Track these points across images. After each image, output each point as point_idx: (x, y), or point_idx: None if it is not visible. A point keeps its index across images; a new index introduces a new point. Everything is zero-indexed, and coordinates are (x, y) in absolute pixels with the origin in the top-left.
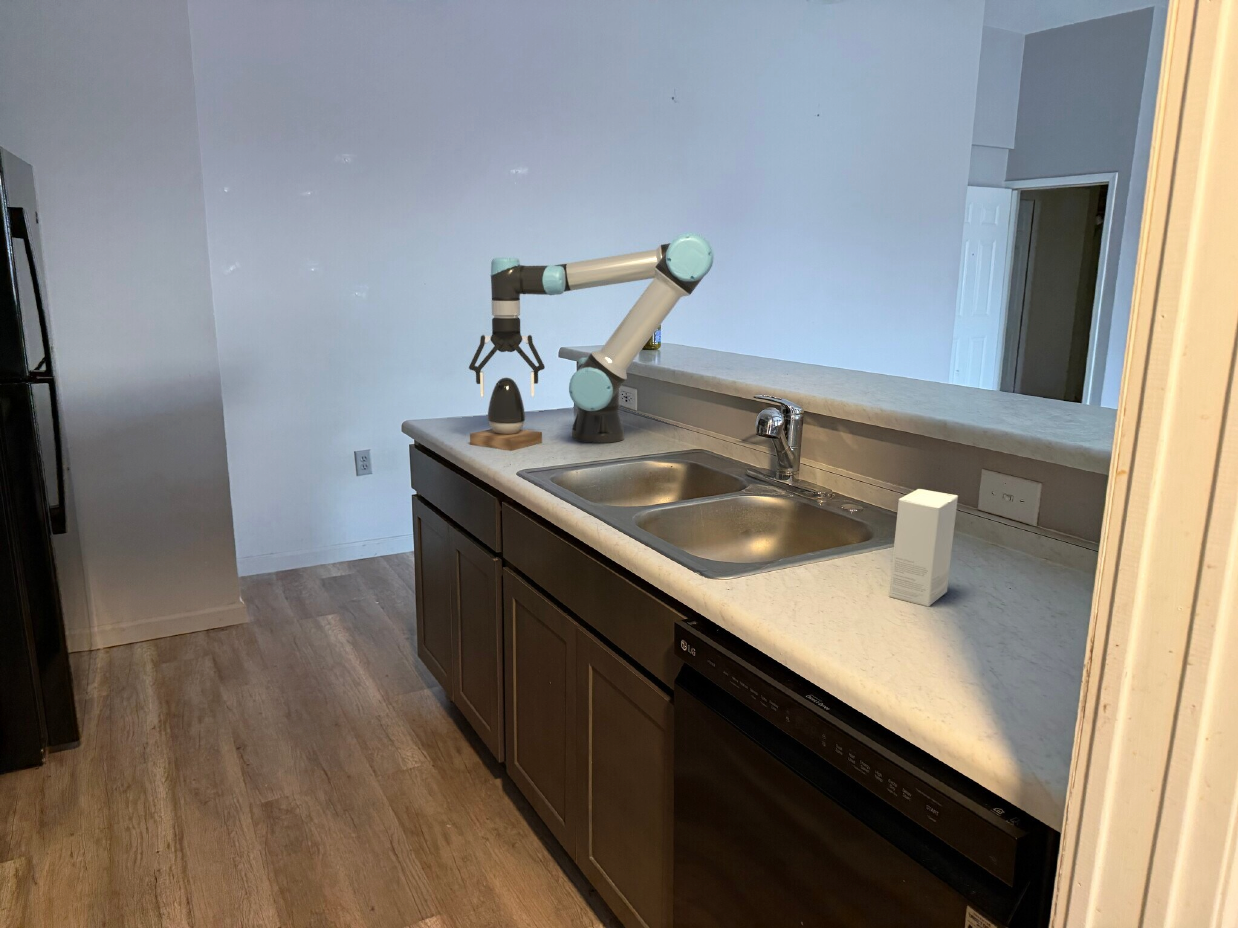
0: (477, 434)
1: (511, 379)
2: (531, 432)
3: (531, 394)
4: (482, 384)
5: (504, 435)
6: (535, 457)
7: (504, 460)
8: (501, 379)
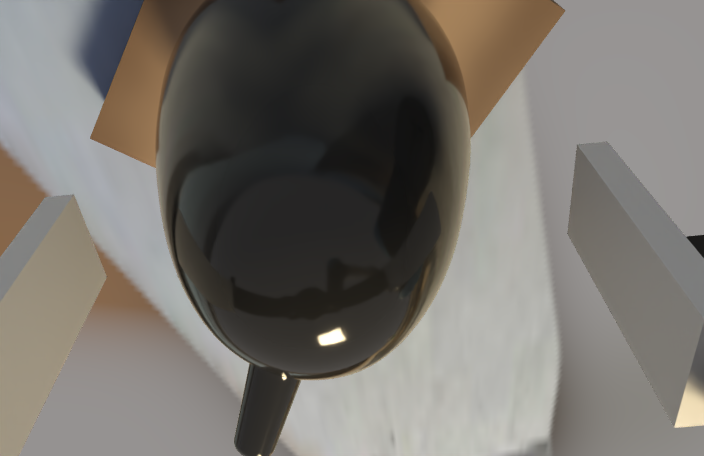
0: (146, 157)
1: (382, 337)
2: (489, 38)
3: (575, 242)
4: (56, 362)
5: None
6: (486, 338)
7: (363, 393)
8: (257, 362)
